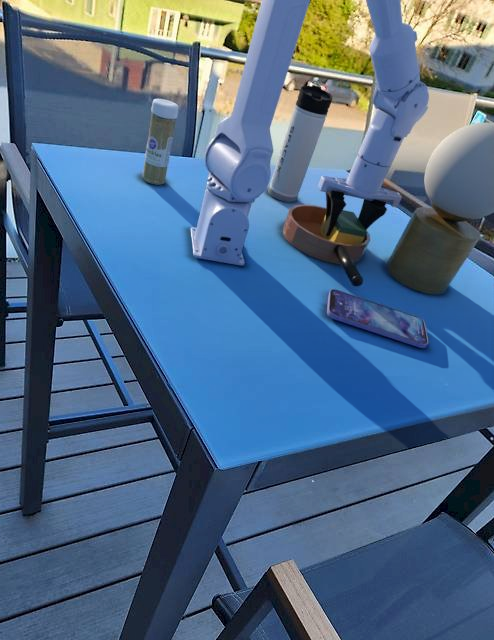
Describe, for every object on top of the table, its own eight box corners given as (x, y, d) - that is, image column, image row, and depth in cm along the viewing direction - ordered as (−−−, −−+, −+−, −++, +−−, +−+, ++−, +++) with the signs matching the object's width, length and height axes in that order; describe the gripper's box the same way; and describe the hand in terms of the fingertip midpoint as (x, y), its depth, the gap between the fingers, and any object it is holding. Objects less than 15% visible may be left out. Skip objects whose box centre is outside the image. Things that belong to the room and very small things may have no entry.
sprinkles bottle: (137, 179, 90) (148, 99, 82) (148, 173, 94) (159, 96, 85) (159, 187, 90) (172, 108, 81) (169, 181, 93) (183, 104, 84)
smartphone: (429, 346, 69) (328, 312, 69) (426, 351, 69) (325, 318, 70) (424, 318, 74) (330, 287, 74) (421, 323, 75) (328, 292, 75)
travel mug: (295, 193, 105) (332, 90, 92) (296, 205, 100) (335, 97, 87) (267, 186, 104) (300, 80, 91) (267, 197, 99) (302, 87, 86)
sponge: (356, 255, 87) (367, 232, 84) (330, 250, 86) (340, 226, 83) (343, 234, 93) (353, 212, 90) (319, 229, 92) (328, 206, 89)
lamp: (381, 243, 95) (453, 103, 79) (451, 270, 94) (539, 132, 77) (375, 275, 84) (457, 118, 68) (454, 305, 82) (558, 153, 66)
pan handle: (361, 289, 75) (366, 279, 74) (350, 288, 75) (355, 277, 73) (340, 252, 83) (344, 242, 82) (330, 250, 83) (334, 240, 82)
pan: (372, 270, 85) (382, 252, 83) (291, 255, 82) (299, 236, 80) (347, 230, 96) (355, 213, 94) (275, 216, 93) (281, 198, 91)
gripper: (404, 160, 84) (369, 233, 93) (327, 142, 81) (298, 218, 90) (420, 176, 79) (381, 251, 88) (338, 156, 76) (307, 236, 85)
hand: (340, 236), depth 89 cm, fingers closed on sponge, 5 cm apart
